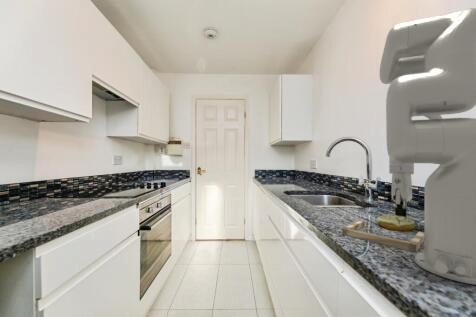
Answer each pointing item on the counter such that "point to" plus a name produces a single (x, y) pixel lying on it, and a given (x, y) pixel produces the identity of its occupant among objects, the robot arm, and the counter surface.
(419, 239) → the wooden bay
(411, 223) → the yellow-green flat piece
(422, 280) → the counter surface
